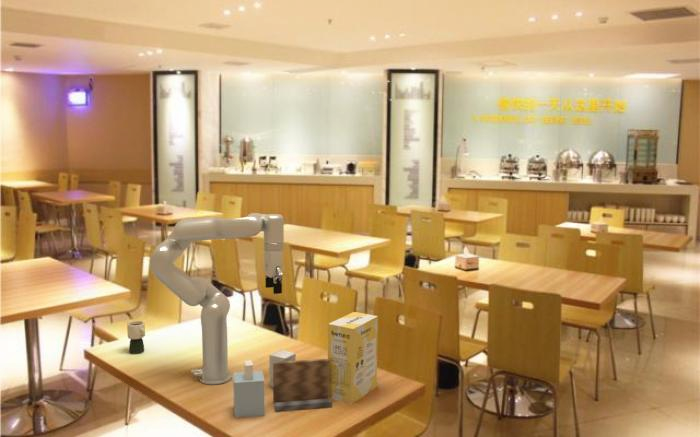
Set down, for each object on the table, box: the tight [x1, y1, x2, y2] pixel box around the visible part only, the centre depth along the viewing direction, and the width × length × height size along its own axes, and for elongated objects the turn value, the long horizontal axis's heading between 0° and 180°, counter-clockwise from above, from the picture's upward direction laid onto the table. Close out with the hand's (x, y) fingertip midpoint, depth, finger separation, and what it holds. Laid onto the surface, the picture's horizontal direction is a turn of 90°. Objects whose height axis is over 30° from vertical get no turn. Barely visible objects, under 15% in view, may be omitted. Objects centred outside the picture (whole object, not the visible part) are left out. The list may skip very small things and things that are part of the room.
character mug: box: [126, 320, 146, 354], centre depth 277 cm, size 11×7×13 cm, turn 58°
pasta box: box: [327, 311, 379, 405], centre depth 238 cm, size 18×10×28 cm, turn 149°
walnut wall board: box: [272, 358, 333, 413], centre depth 228 cm, size 20×8×15 cm, turn 102°
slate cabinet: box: [232, 359, 265, 419], centre depth 222 cm, size 10×9×18 cm
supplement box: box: [268, 349, 297, 388], centre depth 245 cm, size 7×7×13 cm
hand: (273, 290), depth 247 cm, fingers open, 9 cm apart
